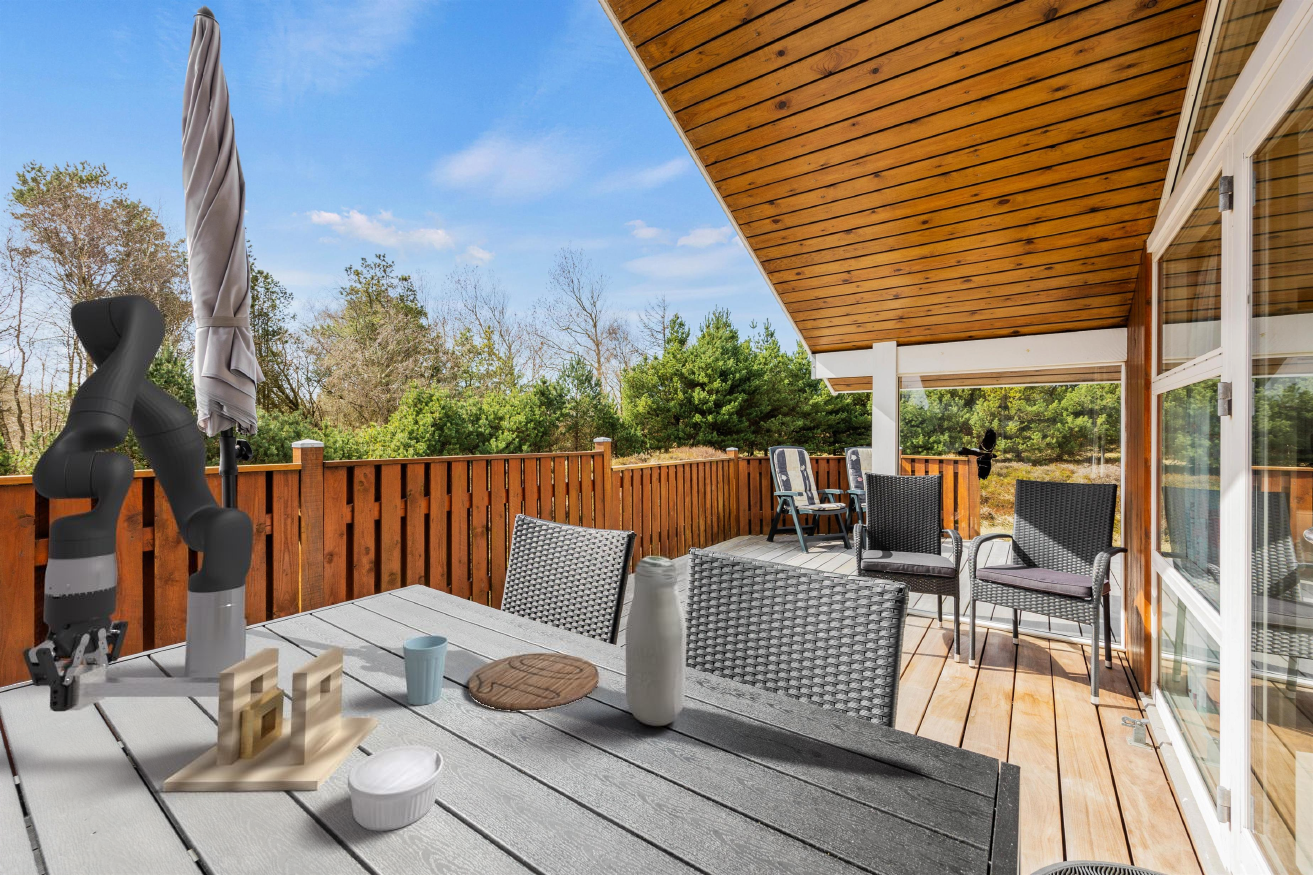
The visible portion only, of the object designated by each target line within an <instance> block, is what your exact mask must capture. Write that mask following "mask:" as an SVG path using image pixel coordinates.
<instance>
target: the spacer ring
mask: <svg viewBox="0 0 1313 875" xmlns="http://www.w3.org/2000/svg"><path fill="white" fill-rule="evenodd" d="M284 700H285V689H284V688H282V689H281V688H277V689H273V690H271V691H270V692H268V693H267V694H265V695H264V696H262V697H261V698H259V699H258V700H256V701H255V702H253V703H252V704H250V705H249V706H247V707H246V708H244V709H243V713H242V733H241V752H240V759H253V758H254V757H255V756H256V755H258V754H259V753H260V752H261V751H263V750H264V749H265V748H266V747H267V746H269V745H270V744H271V743H272V742H274V741H275V740H276V739H277V738H279V737H280V736H281V735H282V722H283V718H284ZM263 715H265V726H264V729H263V730H262V731H261V721H262V716H263Z"/></svg>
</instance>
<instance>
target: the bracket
mask: <svg viewBox="0 0 1313 875" xmlns="http://www.w3.org/2000/svg"><path fill="white" fill-rule="evenodd" d="M279 650H280V648H279V647H278V648H277V647H276V648H275V647H273V648H271V647H266V648H264V649H262V650H260V651H258V652H257V653H254V654H253V655H250V656H248V657H247V658H245V660H243V661H241V662H239V663H237V664H235V665H234V666H232V667H230V668H228V669H226V670H224V671H222V672H220V679H219V697H218V709H217V710H218V712H217V714H218V715H217V717H218V718H217V738H216V739H217V742H216V744H215V745H214V746H212V747H210V749H208V750H207V751H206V752H204V753H202V754H201V755H199V756H198V757H196V759H194V760H192V762H189V763H188V764H187V765H185V766H184V767H183V768H182V769H180V770H178V771H177V772H175V773H174V774H173V775H171V776H170V777H168V778H167V779H165V781H163V783H162V792H225V791H226V792H228V791H229V792H231V791H232V792H235V791H236V792H238V791H239V792H242V791H244V792H245V791H247V792H249V791H250V792H251V791H255V792H256V791H318V790H319V788H321V787H322V785H323V784H324V783H326V781H327V780H328V779H329V778H330V777H331V776H332V775H333V774H334V773H335V772H336V770H338V769H339V767H340V766H341V765H342V764H344V762H345V761H346V760H347V759H348V758H349V757H350V756H351V754H352V753H354V752H355V750H356V749H357V748H358V747H359V746H360V745H361V744H362V743H363V742H364V740H365V739H367V737H368V736H369V735H370V734H371V733H372V732H373V731H374V730H375V729H376V728H377V727H378V725H379V717H342V706H343V705H342V703H343V674H344V672H343V671H344V670H343V669H344V647H343V648H341V647H337V648H336V647H330V648H328V649H327V650H326V651H324V652H322V653H321V654H319V655H318V656H316V657H315V658H313V659H312V660H310V661H309V662H307V663H306V664H304V665H303V666H301V667H299V668H297V670H295V671H293V672H292V681H291V682H292V684H291V686H292V688H291V710H290V711H291V713H290V714H291V716H290V717H283V722H282V735H281V736H280V737H279V738H277V739H276V740H275V741H274V742H272V743H271V744H270V745H269V746H267V747H266V748H265V749H264V750H263V751H261V752H260V753H259V754H258V755H256V756H255V757H254V758H253V759H240V752H241V733H242V713H243V709H244V708H246V707H247V706H249V705H250V704H252V703H253V702H255V701H256V700H258V699H259V698H261V697H262V696H264V695H265V694H267V693H268V692H270V691H271V690H273V689H278V681H279V680H278V679H279ZM264 726H265V715H263V716H262V721H261V731H262V730H263V729H264Z"/></svg>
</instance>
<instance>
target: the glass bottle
mask: <svg viewBox="0 0 1313 875" xmlns="http://www.w3.org/2000/svg"><path fill="white" fill-rule="evenodd" d="M633 576H634V589H633V596H632V597H633V598H632V600H631V604H630V607H629V608H630V609H629V613H628V616H627V620H626V621H627V622H626V626H625V637H624V638H625V696H626V701H627V702H626V703H627V705H628V709H629V711H630V712H631V714H632V716H633V717H634V718H635V719H636V720H638V721H639V722H641V723H643V724H645V725H648V726H653V727H661V726H662V727H663V726H666V725H668V724H671V723H673V722H674V721H675V719H677V718H678V716H679V715H680V713H681V711H682V709H683V707H684V702H685V694H686V668H687V625H686V624H687V623H686V618H685V613H684V611H683V607H682V603H681V600H680V599H681V598H680V592H679V587H678V583H677V582H678V570H677V566H676V564H675V562H674V561H673V560H671V559H670V558H667V557H665V556H659V555H648V556H647V555H646V556H645V557H643V558H642V559H640V560H639V561H638V562H637V564H636V566H635V570H634V575H633Z"/></svg>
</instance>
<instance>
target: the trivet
mask: <svg viewBox="0 0 1313 875" xmlns="http://www.w3.org/2000/svg"><path fill="white" fill-rule="evenodd" d="M599 677H600V672H599V670H598V668H597V666H596V665H595V664H593V663H592V662H591V661H589V660H587V659H585V658H582V657H578V656H575V655H571V654H565V653H564V654H563V653H556V652H555V653H554V652H535V653H524V654H518V655H517V654H516V655H511V656H507V657H503V658H499V659H496V660H494V661H491V662H489V663H487V664H483V666H481V667H479V668H478V669H476V670H475V671H474V672H473V673H472V674H471V676H469V681H468V694H469V693H470V694H471V696H472V697H473V698H474V699H475V700H477V701H478V702H480V703H481V704H484V705H487V706H490V707H494V708H495V709H501V710H510V711H515V710H516V711H517V710H539V709H547V708H551V707H556V706H561V705H566V704H569V703H571V702H574V701H576V700H579V699H582V698H583V697H585V696H587V695H588V694H590V693H592V691H593V690H594V689H595V688H596V686H597V684H599V681H598V679H600V678H599ZM597 687H598V686H597ZM596 689H597V688H596ZM596 689H595V690H596ZM595 690H594V691H595ZM470 694H469V695H470ZM592 694H593V693H592ZM471 696H470V697H471ZM501 710H500V711H501Z"/></svg>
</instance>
